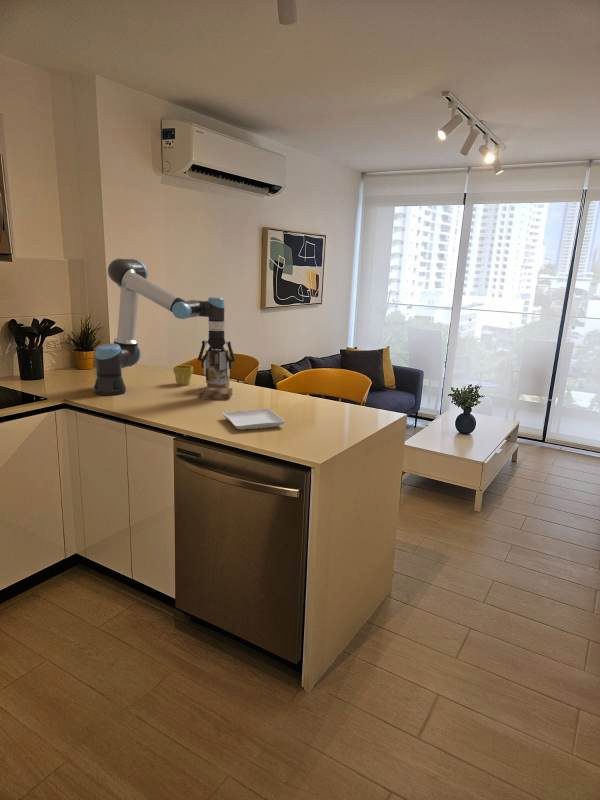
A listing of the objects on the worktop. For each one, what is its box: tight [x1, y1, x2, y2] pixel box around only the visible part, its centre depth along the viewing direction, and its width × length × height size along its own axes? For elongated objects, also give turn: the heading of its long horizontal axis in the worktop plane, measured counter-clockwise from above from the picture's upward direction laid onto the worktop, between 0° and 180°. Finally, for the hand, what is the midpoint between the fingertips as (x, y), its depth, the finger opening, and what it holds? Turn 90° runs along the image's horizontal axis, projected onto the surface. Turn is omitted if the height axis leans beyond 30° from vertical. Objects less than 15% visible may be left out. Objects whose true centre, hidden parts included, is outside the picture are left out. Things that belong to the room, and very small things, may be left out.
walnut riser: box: [199, 387, 233, 400], centre depth 265 cm, size 14×12×3 cm
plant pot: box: [172, 364, 194, 386], centre depth 290 cm, size 10×10×10 cm
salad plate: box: [221, 408, 286, 431], centre depth 222 cm, size 21×21×3 cm
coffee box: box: [204, 349, 228, 385], centre depth 262 cm, size 9×6×16 cm
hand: (216, 375), depth 263 cm, fingers closed on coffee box, 10 cm apart
